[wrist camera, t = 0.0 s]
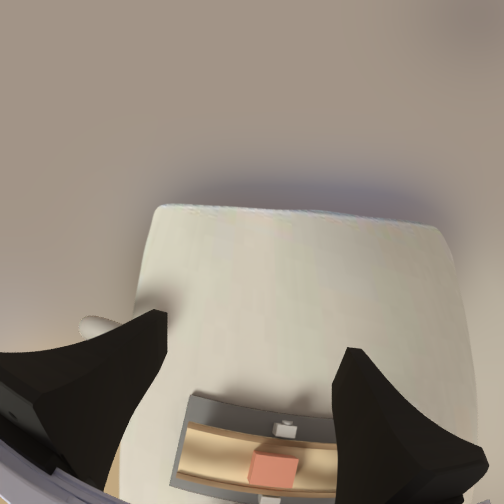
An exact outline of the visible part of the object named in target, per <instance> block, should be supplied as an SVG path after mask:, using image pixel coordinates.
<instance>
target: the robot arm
mask: <svg viewBox="0 0 504 504" xmlns="http://www.w3.org/2000/svg"><path fill="white" fill-rule="evenodd" d="M166 354H167V313H166V312H162V311H159V310H155V309H153V310H151V311H149V312H147V313H145V314H143V315H141V316H139V317H137V318H135V319H133V320H131V321H129V322H127V323H125V324H123V325H121V326H119V327H117V328H115V329H113V330H110V331H108V332H106V333H103V334H101V335H99V336H96V337H94V338H91V339H88V340H86V341H83V342H80V343H76V344H73V345H69V346H64V347H60V348H55V349H51V350H44V351H35V352H22V353H2V352H0V497H1V498H2V499H4V500H5V501H6V502H7V503H8V504H130V503H127V502H125V501H123V500H120V499H118V498H116V497H113V496H111V495H109V494H107V493H104V492H103V491H104V487H105V484H106V481H107V477H108V474H109V471H110V468H111V465H112V462H113V460H114V457H115V454H116V451H117V449H118V446H119V444H120V441H121V439H122V437H123V434H124V432H125V430H126V427H127V425H128V423H129V421H130V419H131V417H132V415H133V413H134V411H135V409H136V408H137V406H138V404H139V403H140V401H141V400H142V398H143V396H144V395H145V393H146V392H147V390H148V388H149V387H150V385H151V384H152V382H153V380H154V379H155V377H156V376H157V374H158V372H159V370H160V368H161V366H162V364H163V361H164V359H165V357H166ZM332 411H333V419H334V427H335V435H336V444H337V456H338V464H337V486H336V498H335V504H462V503H463V502H464V498H463V494H464V493H465V492H466V491H467V490H468V489H470V488H471V487H472V486H473V485H474V484H476V483H477V482H478V481H479V480H480V479H481V478H482V477H483V476H484V475H485V473H486V472H487V470H488V467H489V464H488V461H487V458H486V456H485V454H484V451H483V449H482V448H481V447H479V446H477V445H474V444H472V443H470V442H467V441H465V440H463V439H461V438H459V437H457V436H455V435H453V434H452V433H450V432H448V431H446V430H445V429H443V428H441V427H440V426H438V425H437V424H436V423H434V422H433V421H431V420H430V419H428V418H427V417H426V416H424V415H423V414H422V413H421V412H420V411H418V410H417V409H416V408H415V407H414V406H413V405H411V404H410V403H409V402H408V401H407V400H406V399H405V398H404V397H403V396H402V395H401V394H400V393H399V392H398V391H397V390H396V389H395V388H394V386H393V385H392V384H391V383H390V382H389V381H388V380H387V379H386V377H385V376H384V375H383V374H382V373H381V371H380V370H379V369H378V368H377V367H376V365H375V364H374V363H373V362H372V361H371V359H370V358H369V357H368V356H367V355H366V353H365V352H364V351H363V350H362V349H358V348H350V347H347V349H346V352H345V354H344V357H343V359H342V362H341V364H340V366H339V369H338V371H337V374H336V376H335V378H334V381H333V383H332ZM477 504H491V503H490V500H485V501H483V502H480V503H477Z"/></svg>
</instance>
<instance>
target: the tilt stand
mask: <svg viewBox="0 0 504 504" xmlns="http://www.w3.org/2000/svg"><path fill="white" fill-rule="evenodd" d="M189 421H191V422H195V423H199V424H203V425H207V426H212V427H216V428H221V429H225V430H230V431H235V432H240V433H246V434H252V435H258V436H264V437H271V438H278V439H287V440H296V441H306V442H318V443H336V435H335V427H334V419H327V418H316V417H306V416H298V415H290V414H283V413H276V412H270V411H264V410H258V409H252V408H247V407H242V406H237V405H232V404H227V403H223V402H218V401H214V400H210V399H205V398H201V397H197V396H194V395H190V397H189V401H188V405H187V409H186V414H185V418H184V422H183V426H182V431H181V435H180V439H179V444H178V448H177V452H176V457H175V461H174V466H173V470H172V475H171V480H170V484H169V486H172V487H175V488H178V489H182V490H186V491H189V492H193V493H197V494H201V495H205V496H210V497H214V498H219V499H224V500H229V501H234V502H240V503H246V504H335V498H302V497H284V496H272V495H262V494H254V493H247V492H240V491H234V490H228V489H222V488H217V487H212V486H207V485H203V484H198V483H194V482H190V481H186V480H182V479H179V478H176V474H177V471H178V467H179V462H180V458H181V453H182V449H183V444H184V440H185V436H186V431H187V425H188V422H189Z"/></svg>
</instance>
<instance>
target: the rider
mask: <svg viewBox="0 0 504 504" xmlns="http://www.w3.org/2000/svg"><path fill="white" fill-rule="evenodd" d="M298 461H299V459H298V458H296V457H295V456H293V455H285V454H276V453H268V452H261V451H253V455H252V460H251V464H250V468H249V473H248V477H247V479H248V481H249V484H253V485H261V486H270V487H280V488H292V486H293V482H294V478H295V474H296V470H297V465H298Z"/></svg>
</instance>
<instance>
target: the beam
mask: <svg viewBox="0 0 504 504" xmlns="http://www.w3.org/2000/svg"><path fill="white" fill-rule="evenodd" d="M253 451H261V452H268V453H276V454H285V455H293V456H295V457H296V458H298V459H299V461H298V465H297V470H296V474H295V478H294V482H293V486H292V488H280V487H270V486H261V485H253V484H249V481H248V479H247V477H248V473H249V468H250V464H251V460H252V455H253ZM337 464H338V456H337V444H336V443H318V442H306V441H296V440H287V439H278V438H271V437H264V436H258V435H252V434H246V433H240V432H235V431H230V430H225V429H221V428H216V427H212V426H207V425H203V424H199V423H195V422H191V421H189V422H188V425H187V431H186V436H185V440H184V444H183V449H182V453H181V458H180V462H179V467H178V471H177V474H176V478H179V479H182V480H186V481H190V482H194V483H198V484H203V485H207V486H212V487H217V488H222V489H228V490H234V491H240V492H247V493H254V494H262V495H272V496H284V497H302V498H336V486H337Z"/></svg>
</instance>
